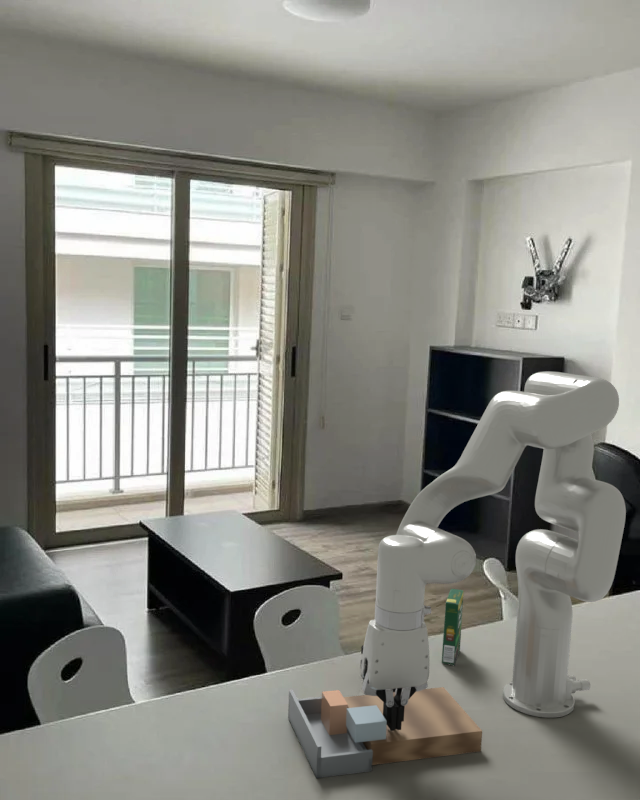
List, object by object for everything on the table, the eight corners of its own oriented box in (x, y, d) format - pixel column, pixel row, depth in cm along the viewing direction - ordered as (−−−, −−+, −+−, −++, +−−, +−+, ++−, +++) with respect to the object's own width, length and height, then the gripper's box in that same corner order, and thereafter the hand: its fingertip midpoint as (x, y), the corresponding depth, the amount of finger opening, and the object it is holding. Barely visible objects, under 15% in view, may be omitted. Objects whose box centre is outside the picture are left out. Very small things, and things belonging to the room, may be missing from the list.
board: (442, 705, 146) (443, 687, 146) (480, 751, 132) (482, 730, 131) (341, 716, 141) (342, 697, 140) (370, 765, 127) (371, 744, 126)
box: (337, 712, 142) (338, 685, 142) (371, 771, 125) (373, 740, 124) (288, 717, 140) (289, 689, 139) (316, 778, 123) (317, 746, 122)
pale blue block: (375, 722, 132) (376, 705, 132) (385, 739, 128) (386, 721, 127) (345, 725, 131) (346, 708, 131) (355, 742, 126) (355, 724, 126)
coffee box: (455, 667, 162) (459, 603, 160) (440, 664, 162) (444, 601, 161) (460, 650, 169) (464, 589, 168) (446, 648, 170) (450, 587, 168)
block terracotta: (339, 690, 139) (322, 691, 138) (347, 704, 134) (330, 706, 133) (337, 717, 139) (320, 719, 139) (346, 733, 135) (329, 735, 134)
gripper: (433, 603, 133) (426, 709, 136) (345, 609, 129) (340, 719, 132) (453, 621, 126) (445, 733, 129) (361, 628, 122) (355, 744, 124)
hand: (392, 725), depth 130 cm, fingers closed
